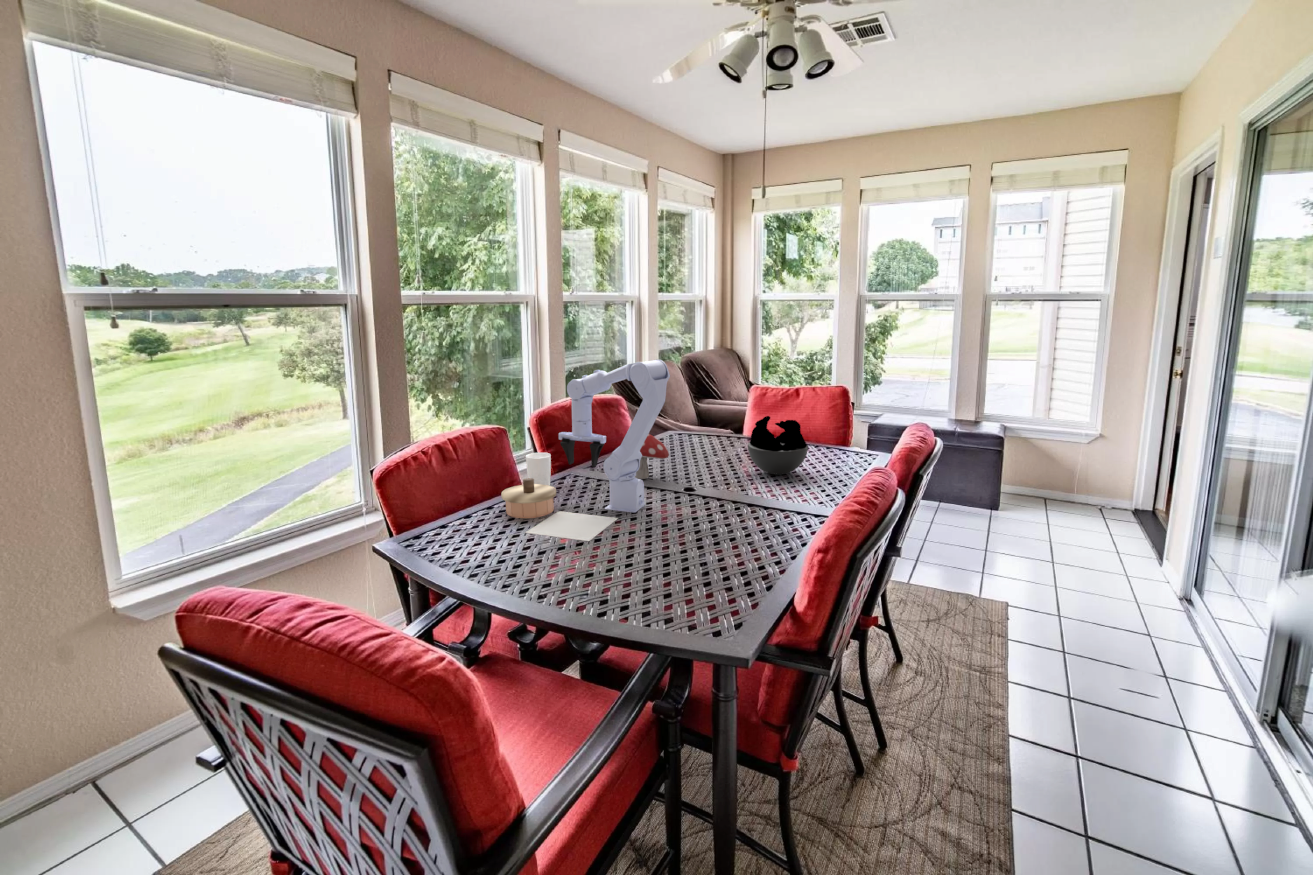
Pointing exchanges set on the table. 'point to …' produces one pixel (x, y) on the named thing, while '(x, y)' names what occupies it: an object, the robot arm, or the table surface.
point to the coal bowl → (777, 447)
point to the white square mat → (572, 526)
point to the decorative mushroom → (650, 455)
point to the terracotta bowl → (530, 509)
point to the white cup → (539, 467)
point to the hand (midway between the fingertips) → (582, 464)
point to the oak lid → (528, 492)
